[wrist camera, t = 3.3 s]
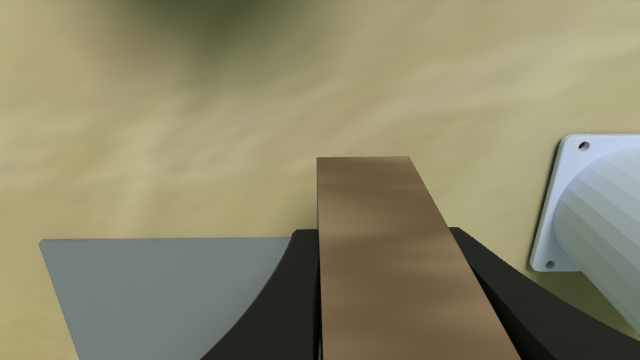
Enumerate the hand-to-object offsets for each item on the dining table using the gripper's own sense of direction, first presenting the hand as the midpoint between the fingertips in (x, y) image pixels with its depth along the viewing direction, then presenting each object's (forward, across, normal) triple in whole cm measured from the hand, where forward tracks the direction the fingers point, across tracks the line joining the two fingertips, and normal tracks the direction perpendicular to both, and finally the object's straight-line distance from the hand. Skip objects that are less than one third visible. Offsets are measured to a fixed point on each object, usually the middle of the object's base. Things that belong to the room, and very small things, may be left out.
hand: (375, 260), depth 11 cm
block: (+3, 0, 0) cm, 3 cm away
